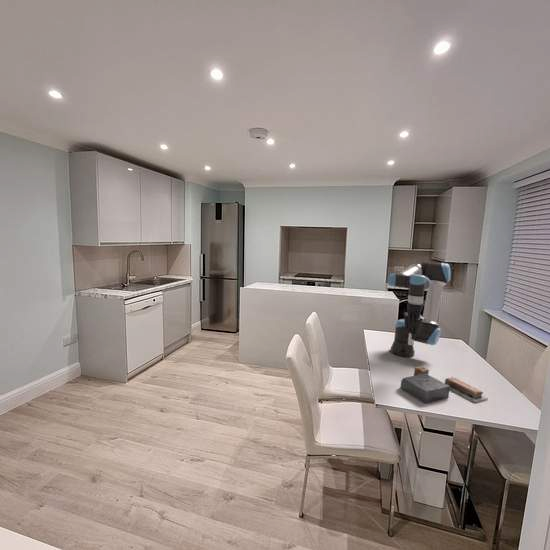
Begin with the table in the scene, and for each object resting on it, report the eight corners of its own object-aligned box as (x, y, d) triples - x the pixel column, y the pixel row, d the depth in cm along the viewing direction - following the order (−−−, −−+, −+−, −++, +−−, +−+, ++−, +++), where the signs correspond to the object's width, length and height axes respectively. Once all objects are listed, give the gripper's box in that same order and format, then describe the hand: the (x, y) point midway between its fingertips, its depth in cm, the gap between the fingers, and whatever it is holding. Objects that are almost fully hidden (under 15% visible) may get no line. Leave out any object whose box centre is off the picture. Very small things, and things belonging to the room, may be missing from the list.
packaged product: (442, 377, 158) (454, 375, 162) (441, 386, 159) (453, 383, 163) (476, 394, 142) (489, 391, 146) (474, 404, 142) (488, 400, 146)
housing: (401, 388, 153) (402, 377, 152) (423, 384, 159) (424, 373, 158) (424, 403, 140) (426, 391, 139) (448, 397, 146) (449, 386, 146)
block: (413, 375, 169) (414, 367, 168) (420, 374, 171) (421, 366, 170) (421, 379, 164) (422, 371, 164) (427, 378, 166) (428, 369, 166)
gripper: (400, 300, 166) (396, 341, 170) (420, 306, 155) (415, 349, 158) (410, 300, 169) (406, 339, 173) (430, 305, 158) (425, 347, 161)
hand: (410, 344), depth 165 cm, fingers closed
